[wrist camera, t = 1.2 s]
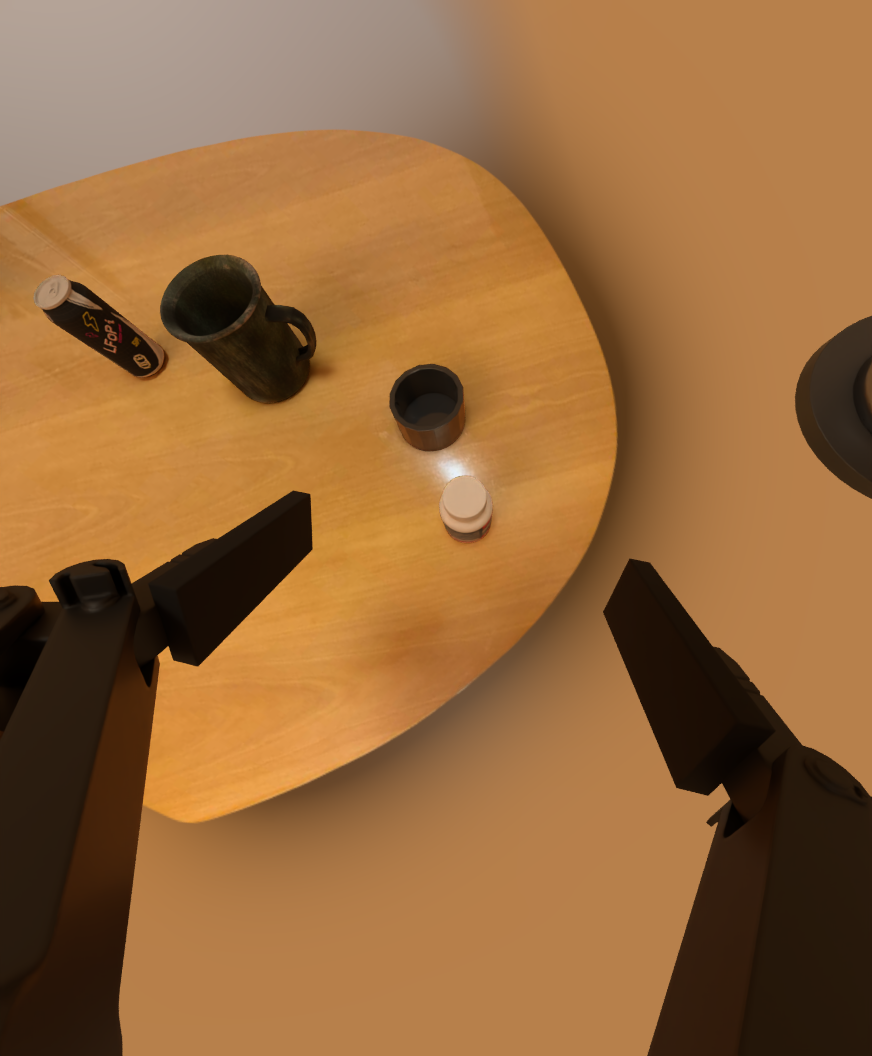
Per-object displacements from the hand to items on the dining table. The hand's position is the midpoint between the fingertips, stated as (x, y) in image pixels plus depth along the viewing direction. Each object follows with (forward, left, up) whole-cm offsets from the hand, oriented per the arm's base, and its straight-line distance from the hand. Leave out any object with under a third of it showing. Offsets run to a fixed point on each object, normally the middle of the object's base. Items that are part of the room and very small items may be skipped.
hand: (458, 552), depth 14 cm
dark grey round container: (+4, -20, -23) cm, 31 cm away
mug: (+24, -29, -24) cm, 44 cm away
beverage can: (+46, -33, -24) cm, 62 cm away
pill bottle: (0, -7, -24) cm, 25 cm away
